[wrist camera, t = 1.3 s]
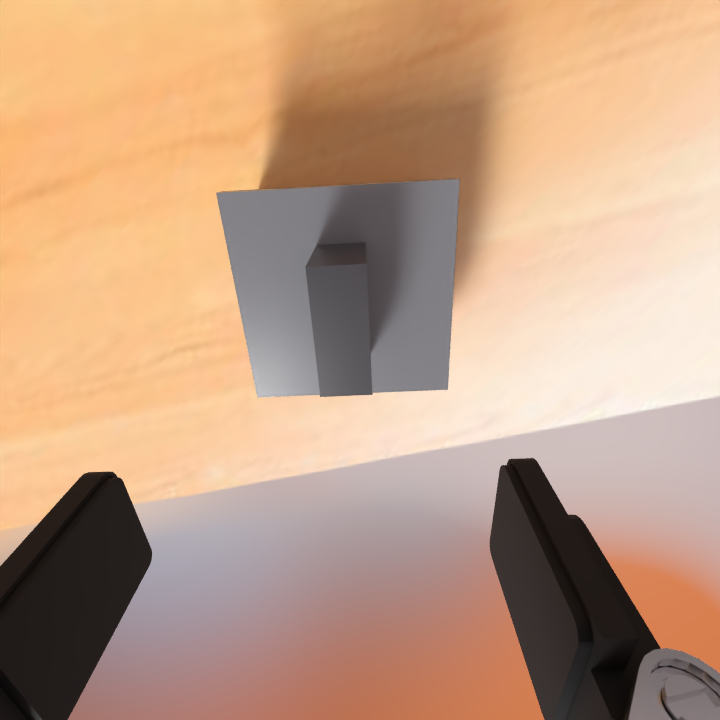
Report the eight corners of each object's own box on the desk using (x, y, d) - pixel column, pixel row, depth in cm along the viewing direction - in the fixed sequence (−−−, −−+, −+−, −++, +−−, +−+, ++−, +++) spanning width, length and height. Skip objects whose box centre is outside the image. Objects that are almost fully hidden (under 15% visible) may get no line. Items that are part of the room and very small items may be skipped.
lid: (222, 191, 22) (177, 202, 17) (455, 178, 22) (485, 185, 17) (260, 389, 28) (237, 444, 23) (444, 382, 28) (464, 435, 22)
